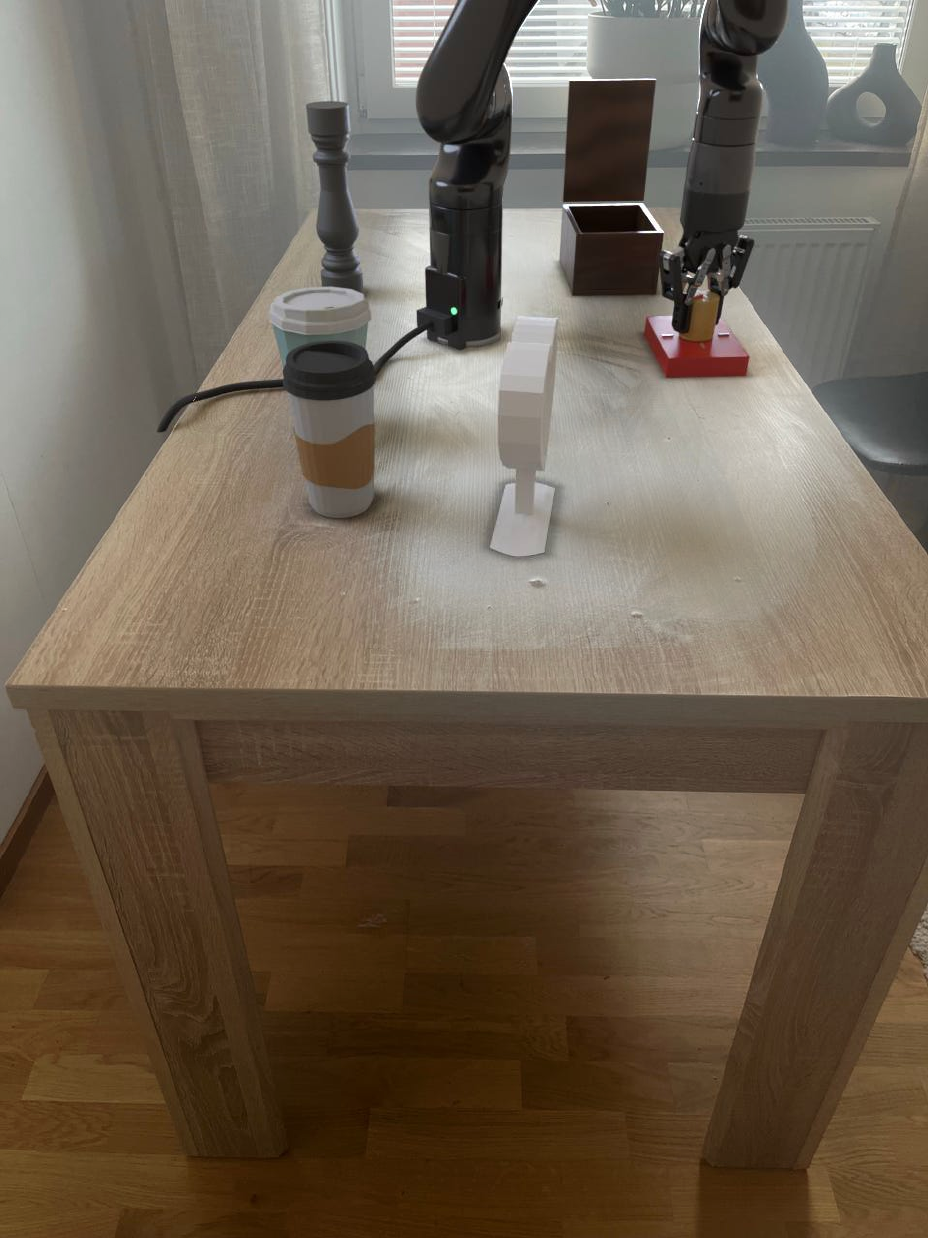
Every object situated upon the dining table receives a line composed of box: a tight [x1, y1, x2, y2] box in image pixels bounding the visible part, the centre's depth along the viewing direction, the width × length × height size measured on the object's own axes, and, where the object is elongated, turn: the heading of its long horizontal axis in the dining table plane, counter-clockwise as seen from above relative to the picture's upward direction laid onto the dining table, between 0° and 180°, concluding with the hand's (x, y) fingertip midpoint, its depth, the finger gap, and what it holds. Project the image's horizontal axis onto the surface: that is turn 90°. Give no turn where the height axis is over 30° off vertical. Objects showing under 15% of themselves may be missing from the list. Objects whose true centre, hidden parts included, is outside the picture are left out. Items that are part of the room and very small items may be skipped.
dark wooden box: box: [558, 203, 665, 297], centre depth 140 cm, size 16×13×9 cm
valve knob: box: [678, 289, 720, 342], centre depth 116 cm, size 4×4×5 cm
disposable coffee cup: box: [268, 286, 372, 369], centre depth 99 cm, size 11×11×15 cm
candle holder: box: [305, 100, 365, 295], centre depth 130 cm, size 6×6×25 cm
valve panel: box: [643, 315, 751, 378], centre depth 118 cm, size 14×10×3 cm
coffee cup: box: [282, 341, 377, 519], centre depth 86 cm, size 8×8×15 cm
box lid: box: [562, 78, 657, 203], centre depth 140 cm, size 16×13×5 cm
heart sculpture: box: [489, 315, 560, 558], centre depth 83 cm, size 16×5×18 cm, turn 171°
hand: (695, 326), depth 117 cm, fingers closed on valve knob, 4 cm apart
